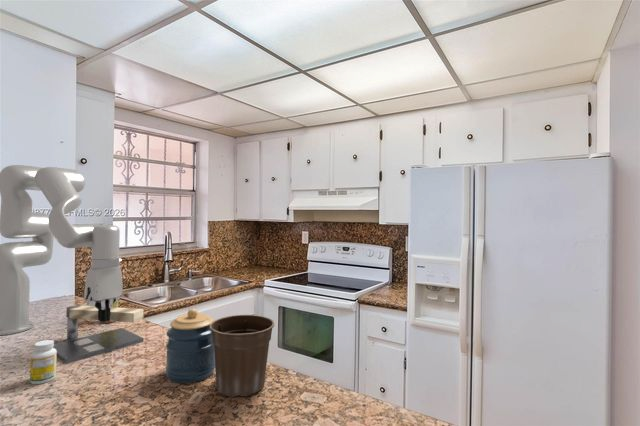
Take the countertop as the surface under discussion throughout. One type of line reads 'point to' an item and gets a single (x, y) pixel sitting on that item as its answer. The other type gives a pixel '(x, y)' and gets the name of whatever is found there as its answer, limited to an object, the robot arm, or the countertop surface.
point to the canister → (190, 348)
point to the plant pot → (241, 353)
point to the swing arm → (115, 313)
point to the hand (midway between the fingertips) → (104, 320)
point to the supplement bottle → (43, 362)
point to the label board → (92, 342)
